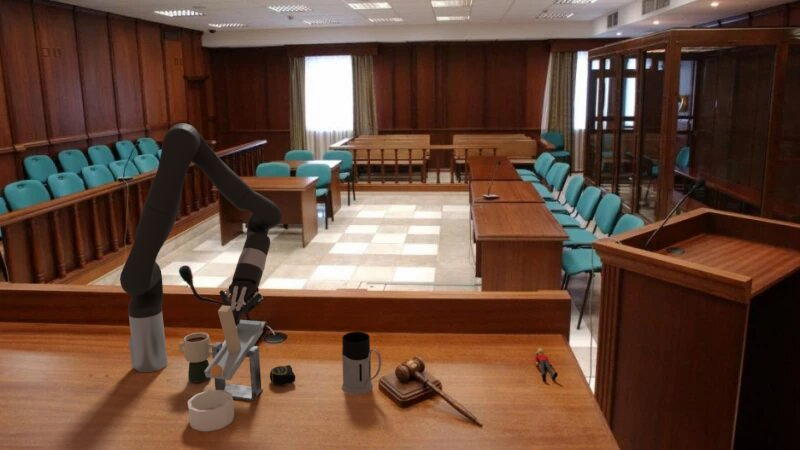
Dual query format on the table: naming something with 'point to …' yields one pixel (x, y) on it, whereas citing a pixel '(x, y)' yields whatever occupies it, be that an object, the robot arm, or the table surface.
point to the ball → (216, 370)
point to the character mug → (196, 354)
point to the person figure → (544, 364)
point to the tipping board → (236, 359)
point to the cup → (211, 410)
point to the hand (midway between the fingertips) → (232, 325)
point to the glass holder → (357, 363)
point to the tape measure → (282, 375)
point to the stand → (240, 390)
